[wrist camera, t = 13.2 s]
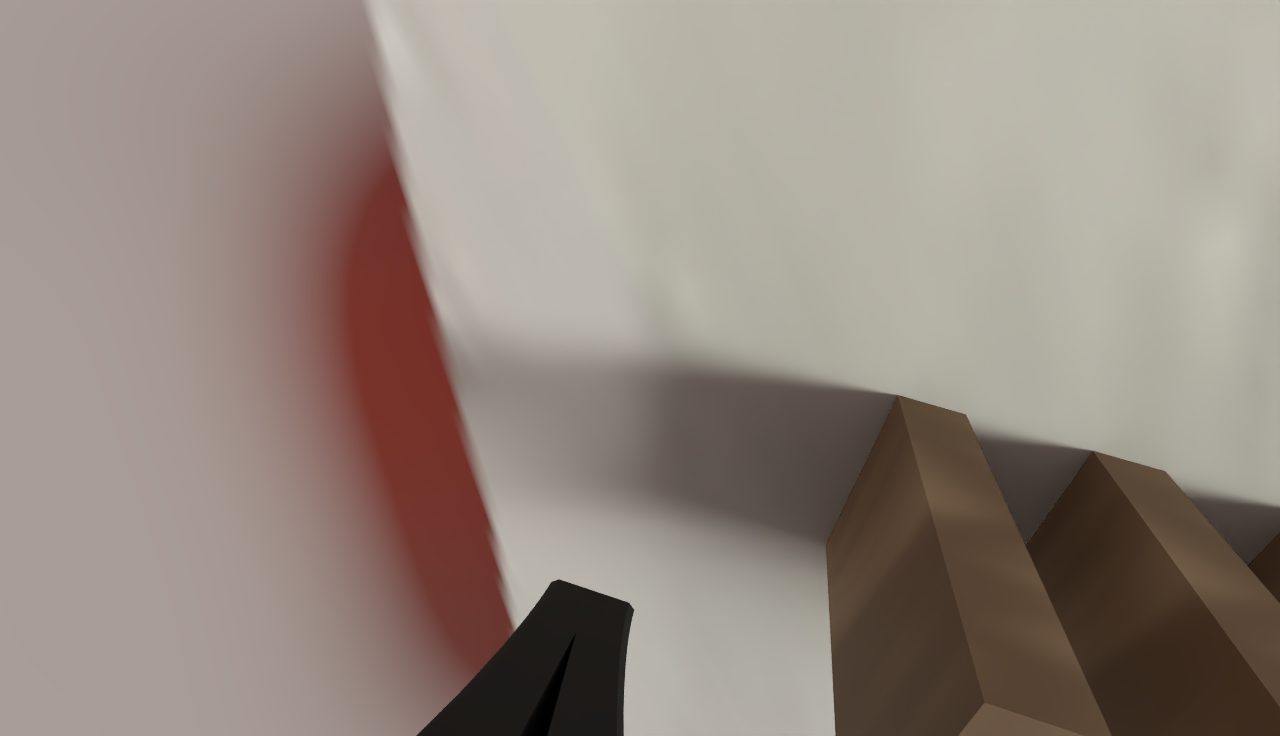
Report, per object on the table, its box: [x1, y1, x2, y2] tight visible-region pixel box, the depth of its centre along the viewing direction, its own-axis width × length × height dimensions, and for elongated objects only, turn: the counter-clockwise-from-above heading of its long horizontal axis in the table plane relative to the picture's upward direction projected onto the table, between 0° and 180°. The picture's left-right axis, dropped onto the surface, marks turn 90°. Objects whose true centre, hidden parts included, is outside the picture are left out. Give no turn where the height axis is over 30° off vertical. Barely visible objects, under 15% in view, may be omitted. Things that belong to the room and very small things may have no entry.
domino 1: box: [826, 395, 1112, 736], centre depth 12 cm, size 2×5×8 cm, turn 169°
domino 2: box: [1026, 451, 1280, 736], centre depth 12 cm, size 2×5×8 cm, turn 169°
